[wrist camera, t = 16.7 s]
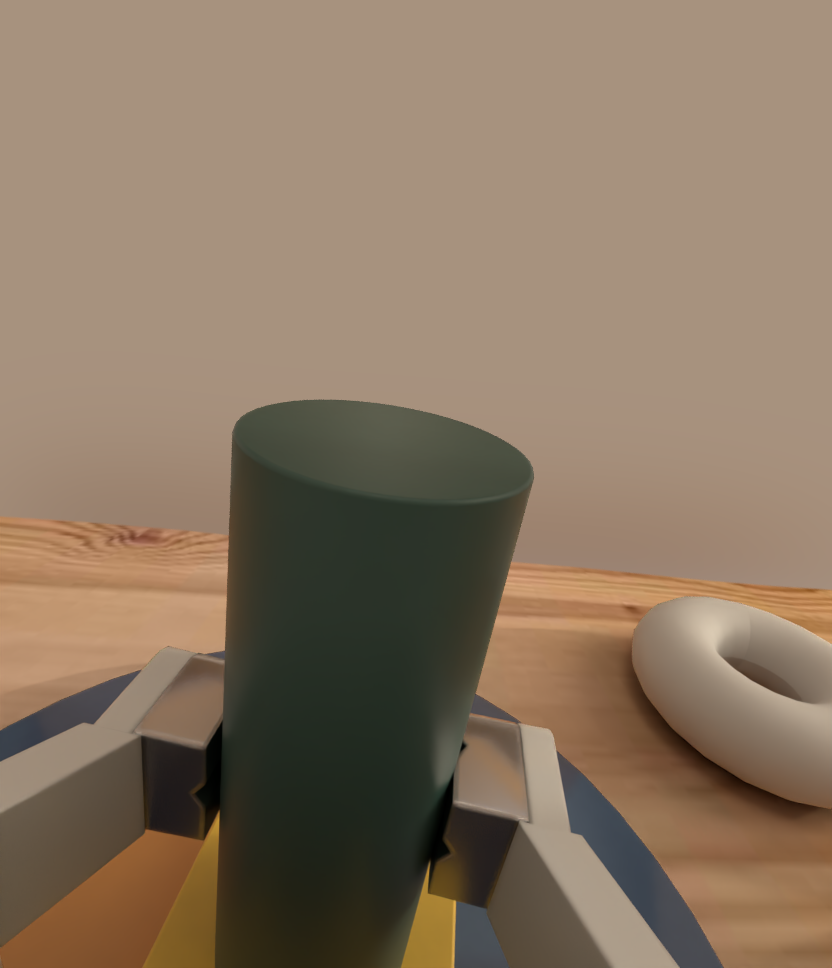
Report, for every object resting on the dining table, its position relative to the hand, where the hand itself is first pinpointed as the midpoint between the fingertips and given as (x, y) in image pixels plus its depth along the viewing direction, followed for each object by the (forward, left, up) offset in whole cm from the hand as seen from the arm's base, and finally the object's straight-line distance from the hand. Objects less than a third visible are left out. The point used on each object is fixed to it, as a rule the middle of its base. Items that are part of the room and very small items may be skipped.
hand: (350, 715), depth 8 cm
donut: (-19, +4, -8) cm, 21 cm away
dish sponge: (+1, +1, -7) cm, 7 cm away
